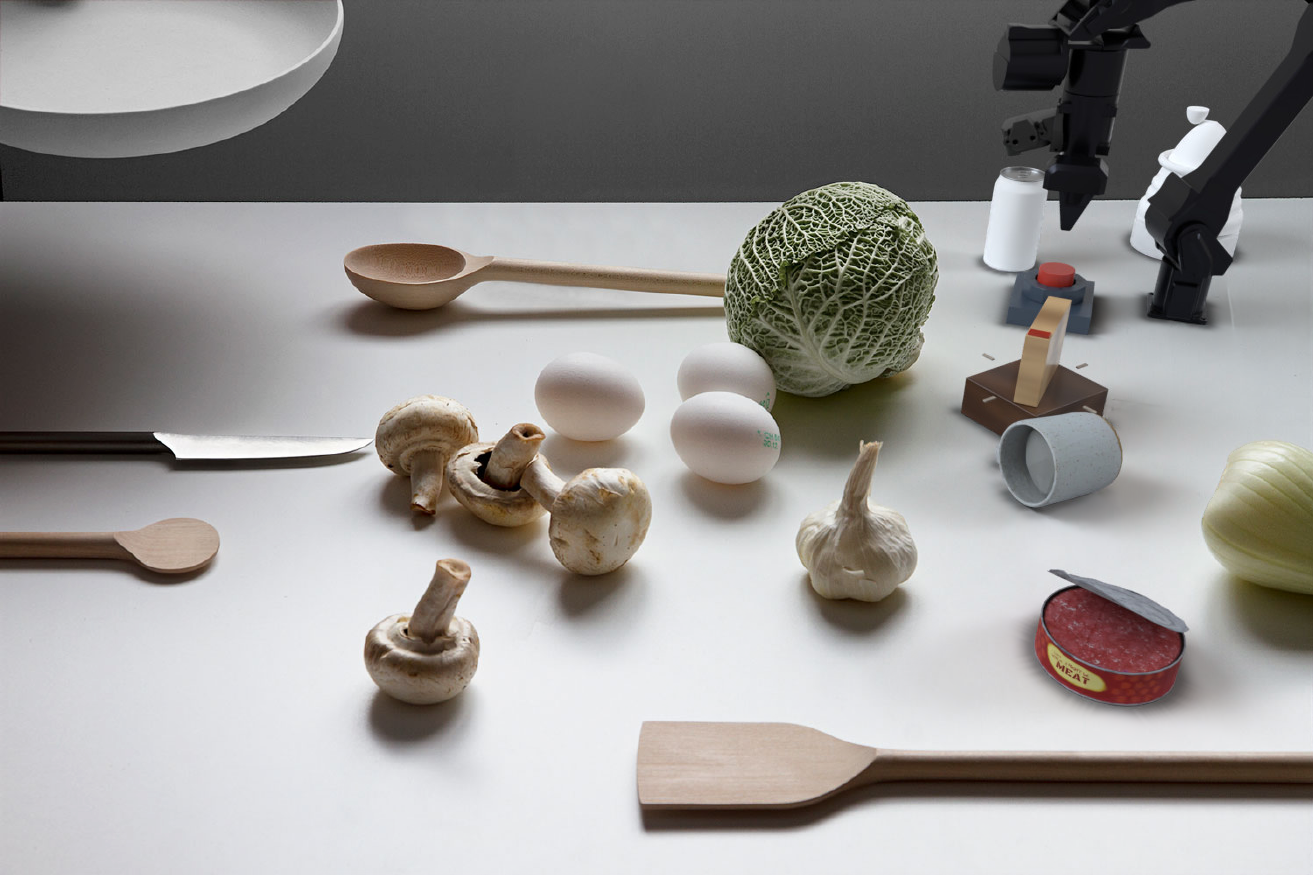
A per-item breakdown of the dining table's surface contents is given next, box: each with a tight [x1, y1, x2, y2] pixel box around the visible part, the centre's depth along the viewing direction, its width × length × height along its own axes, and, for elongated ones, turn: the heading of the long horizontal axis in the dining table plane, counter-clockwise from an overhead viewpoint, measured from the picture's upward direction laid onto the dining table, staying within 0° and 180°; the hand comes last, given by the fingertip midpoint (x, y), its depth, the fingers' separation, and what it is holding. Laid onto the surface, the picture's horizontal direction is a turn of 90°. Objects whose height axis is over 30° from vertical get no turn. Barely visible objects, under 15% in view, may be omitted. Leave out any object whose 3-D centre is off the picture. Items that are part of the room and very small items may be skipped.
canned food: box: [1033, 568, 1190, 707], centre depth 81 cm, size 11×10×10 cm
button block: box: [1005, 268, 1096, 336], centre depth 133 cm, size 11×9×4 cm
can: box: [983, 166, 1049, 274], centre depth 143 cm, size 6×6×12 cm
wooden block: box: [960, 352, 1109, 437], centre depth 111 cm, size 14×14×4 cm
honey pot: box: [1129, 105, 1244, 261], centre depth 146 cm, size 13×13×18 cm
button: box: [1037, 261, 1077, 288], centre depth 132 cm, size 4×4×2 cm
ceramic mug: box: [994, 412, 1124, 508], centre depth 100 cm, size 11×8×8 cm
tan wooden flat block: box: [1014, 296, 1072, 407], centre depth 108 cm, size 10×2×7 cm, turn 152°
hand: (1065, 229), depth 129 cm, fingers closed
